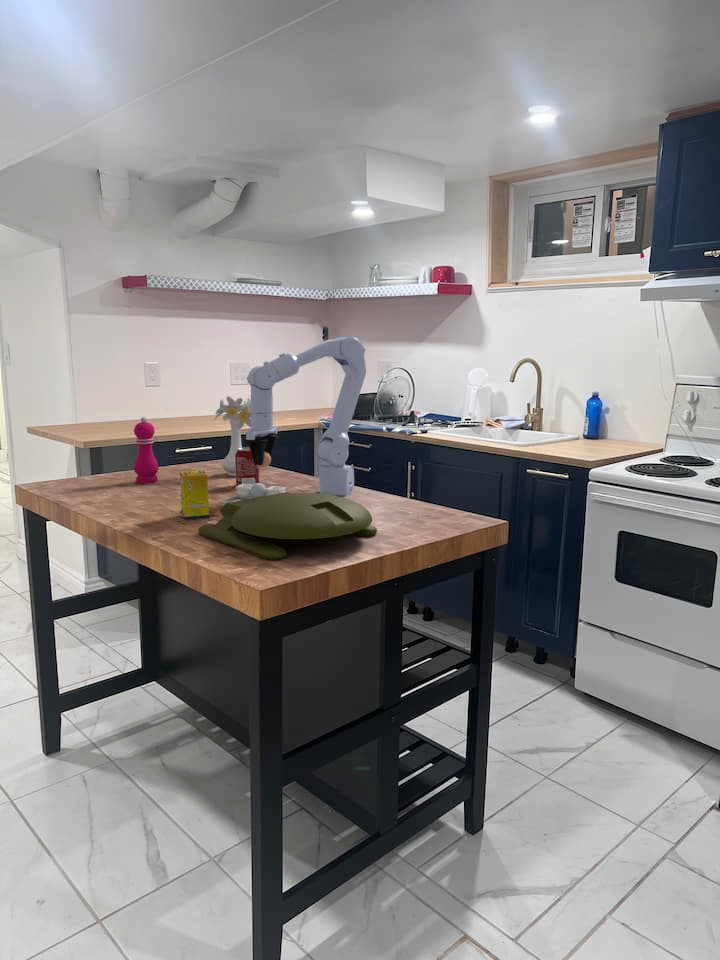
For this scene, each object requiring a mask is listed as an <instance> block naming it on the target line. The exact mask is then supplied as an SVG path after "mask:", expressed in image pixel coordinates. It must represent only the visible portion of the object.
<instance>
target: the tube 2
mask: <svg viewBox="0 0 720 960" xmlns="http://www.w3.org/2000/svg"><path fill="white" fill-rule="evenodd" d="M287 489H288V486H277V485H276V486H275V485H272V486H270V487H266V491H267V496H268V495H274V494H280V493H285V492H286V490H287Z"/></svg>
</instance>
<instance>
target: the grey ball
mask: <svg viewBox="0 0 720 960" xmlns="http://www.w3.org/2000/svg"><path fill="white" fill-rule="evenodd" d="M266 489H267V487H266V485H265V484H263V483H261V482H259V483H256V484H254V485H253V486H252V487H251V490H250V493H251V496H252V497H253V498H257V497H263V496H266V494H267V491H266Z"/></svg>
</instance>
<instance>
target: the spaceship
mask: <svg viewBox="0 0 720 960" xmlns="http://www.w3.org/2000/svg"><path fill="white" fill-rule="evenodd" d="M219 513H220V514H221V515H222V518H221V519H220V520H218V521H217V522H216V523H215V524H214V523H206V524H203V525H201V526H199V527H198V530H197V533H198V534H199V535H200V536H203V537H205V536H206V538H208V537H209V539H211V538H212V539H211V540H213V539H214V540H213V541H216V540H217V541H216V542H219V543H221V542H222V543H221V544H224V543H225V545H227V546H229V545H230V546H229V547H232V546H233V547H232V548H235V547H236V548H235V549H237V548H238V550H240V549H241V550H240V551H243V550H244V551H243V552H245V551H246V553H248V552H249V554H251V553H252V554H251V555H253V554H254V555H253V556H256V555H257V557H259V556H260V557H259V558H261V557H262V558H261V559H264V558H265V559H264V560H267V559H270V560H269V561H278V560H277V559H280V560H282V558H283V559H285V558H286V556H287V553H288V552H287V550H286V548H283V547H282V546H278V545H276V544H272V543H271V542H270V543H269V542H267V541H264V540H261V539H259V538H255V537H252V536H256V537H263V538H267V539H268V538H271V539H277V540H278V539H281V540H282V539H283V540H312V539H313V540H314V539H325V538H335V537H340V536H346V535H351V534H353V535H355V536H359V537H365V538H366V537H372V536H373V537H374V536H375V535H376V534H377V533H378V529H377V528H376V526H374V525H372V523H373V516H372V515H371V512H370V511H369V510H368V509H367V508H366V507H364V506H363V504H360V503H358V502H355V501H354V500H351V499H349V498H345V497H344V496H340V495H329V494H321V493H318V492H286V491H285V493H280V494H274V495H268V496H263V497H257V498H251V499H246V500H240V501H234V502H229V503H224V505H223V506H222V507H221V508H220V509H219ZM234 529H235V530H237V531H235V530H234ZM238 531H239V532H238ZM241 532H242V533H241ZM247 534H249V535H247ZM250 535H251V536H250Z"/></svg>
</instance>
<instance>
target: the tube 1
mask: <svg viewBox="0 0 720 960" xmlns="http://www.w3.org/2000/svg"><path fill="white" fill-rule="evenodd" d="M252 486H253V485H252V484H241V485H239V486H236V485H235V490H236V491H237V492H236V493H237V494H236V495H237V497H238V498H240V499H248V498H250V497H252V496H251V493H250V490H251V487H252Z"/></svg>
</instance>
